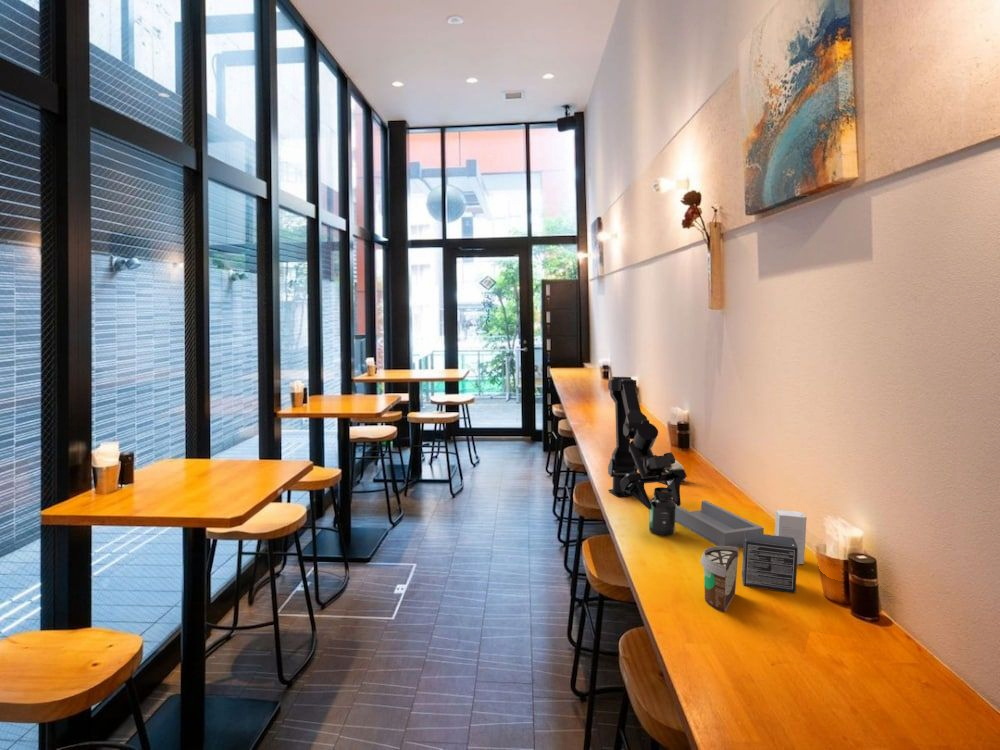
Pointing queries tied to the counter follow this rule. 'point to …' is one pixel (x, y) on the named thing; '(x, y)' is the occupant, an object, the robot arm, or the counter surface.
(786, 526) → the skincare box
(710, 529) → the gray rectangular tray
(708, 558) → the food container
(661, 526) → the supplement bottle
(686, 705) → the counter surface
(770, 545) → the small box
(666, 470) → the skull
